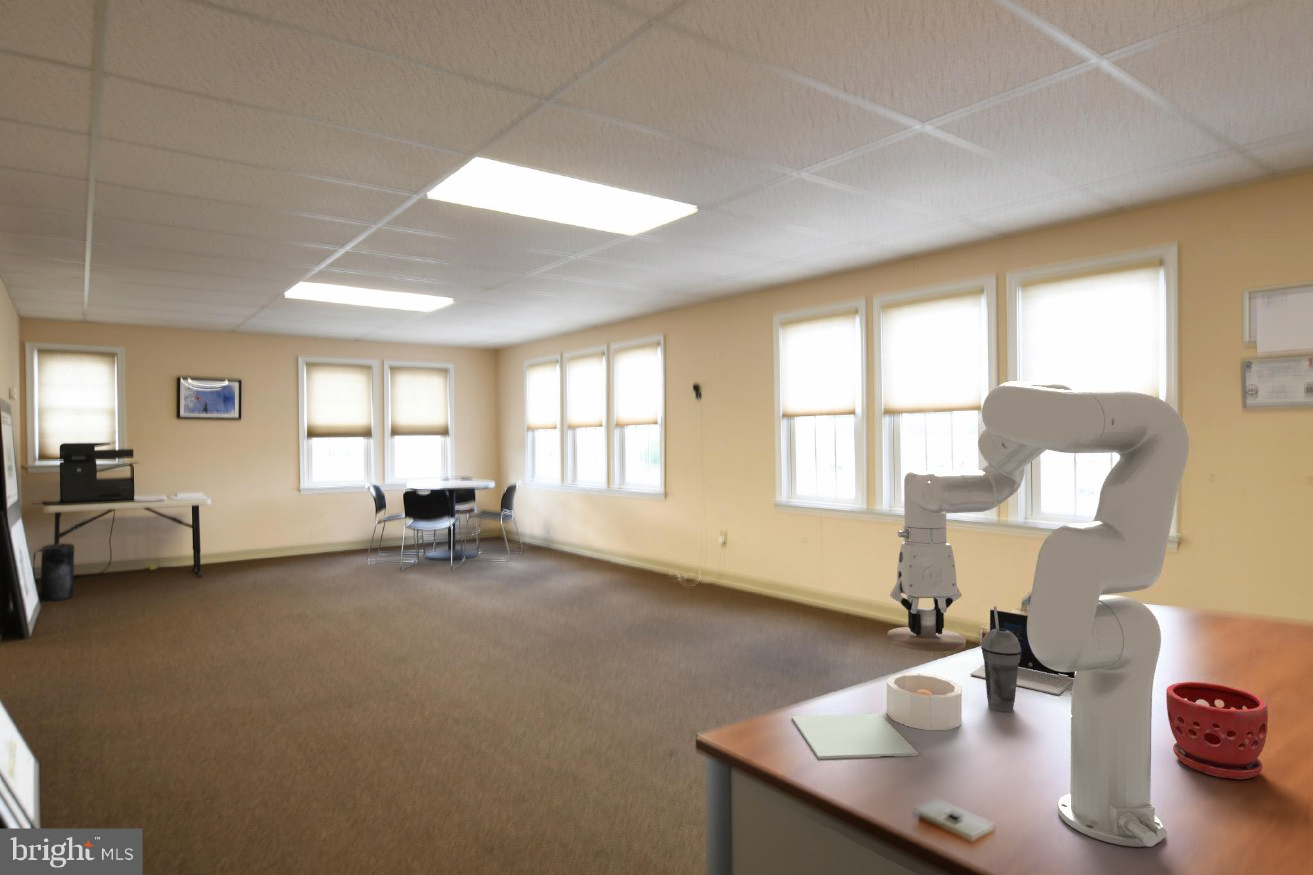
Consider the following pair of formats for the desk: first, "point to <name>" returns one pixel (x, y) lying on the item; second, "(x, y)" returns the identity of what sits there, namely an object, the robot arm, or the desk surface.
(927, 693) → the ball
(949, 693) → the bowl
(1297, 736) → the desk surface
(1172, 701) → the plant pot
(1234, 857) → the desk surface
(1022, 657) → the laptop
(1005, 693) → the beverage cup
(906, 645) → the lid
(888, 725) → the mat
